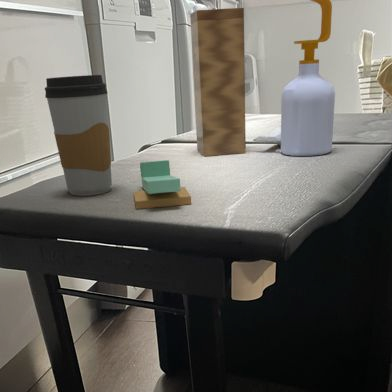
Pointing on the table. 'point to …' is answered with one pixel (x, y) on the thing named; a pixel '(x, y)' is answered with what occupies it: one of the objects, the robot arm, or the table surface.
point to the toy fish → (271, 137)
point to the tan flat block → (161, 199)
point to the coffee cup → (81, 132)
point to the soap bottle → (309, 101)
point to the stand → (219, 80)
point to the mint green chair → (158, 177)
